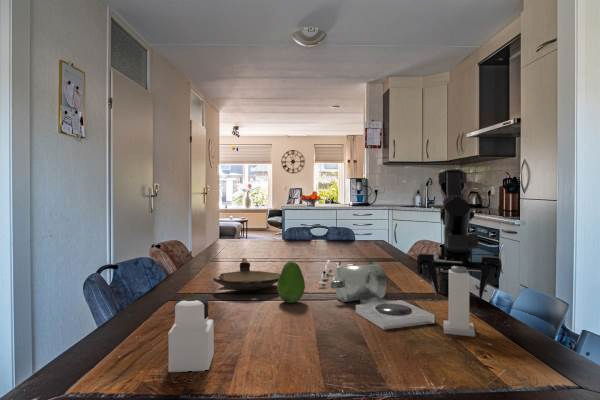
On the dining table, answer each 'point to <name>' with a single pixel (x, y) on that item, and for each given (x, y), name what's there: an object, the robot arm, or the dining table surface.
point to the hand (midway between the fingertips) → (458, 296)
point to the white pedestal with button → (458, 303)
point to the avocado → (291, 283)
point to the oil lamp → (247, 278)
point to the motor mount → (376, 298)
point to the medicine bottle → (191, 336)
